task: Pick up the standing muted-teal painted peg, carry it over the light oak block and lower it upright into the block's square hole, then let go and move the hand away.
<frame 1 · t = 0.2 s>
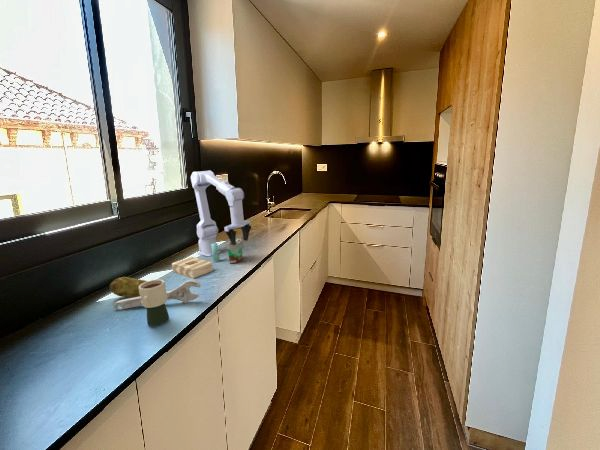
hand: (239, 242, 136), 10 cm above the worktop, tool pointing down, fingers open, 7 cm apart
potato: (133, 296, 108), on the worktop
wrench: (159, 305, 100), on the worktop
food container: (238, 261, 141), on the worktop
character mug: (158, 322, 89), on the worktop
hole block: (192, 271, 130), on the worktop
peg: (216, 261, 142), on the worktop
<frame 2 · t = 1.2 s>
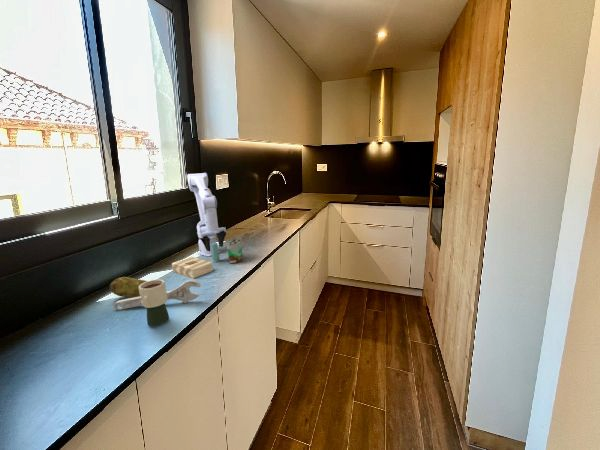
hand: (214, 248, 140), 7 cm above the worktop, tool pointing down, fingers open, 7 cm apart
nothing on the worktop moved.
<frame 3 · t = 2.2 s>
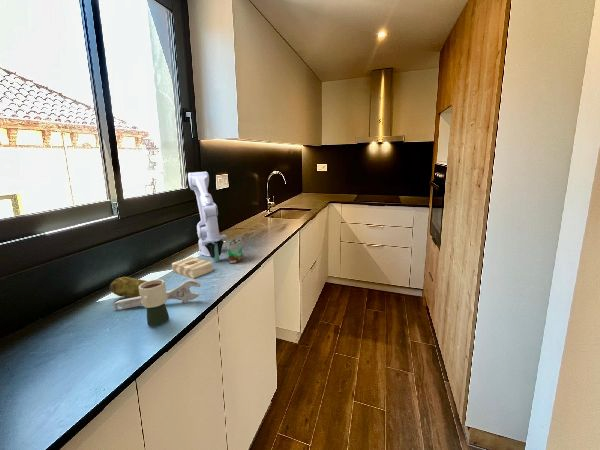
hand: (215, 256, 141), 3 cm above the worktop, tool pointing down, fingers closed on peg, 3 cm apart
peg: (216, 261, 142), on the worktop, touching gripper
everything else where it was.
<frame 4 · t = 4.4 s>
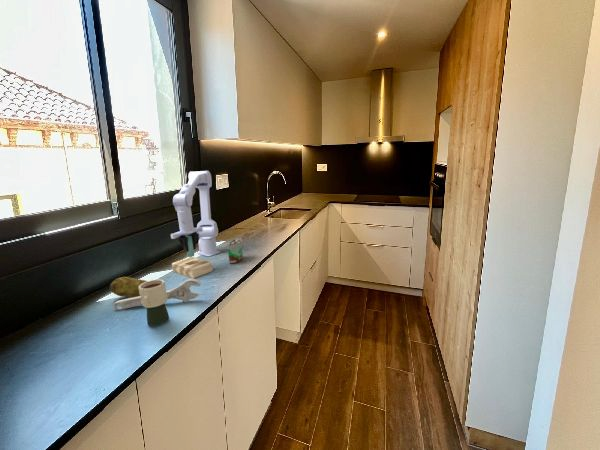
hand: (190, 250, 128), 10 cm above the worktop, tool pointing down, fingers closed on peg, 3 cm apart
peg: (190, 255, 129), point 7 cm above the worktop, touching gripper
everything else where it was.
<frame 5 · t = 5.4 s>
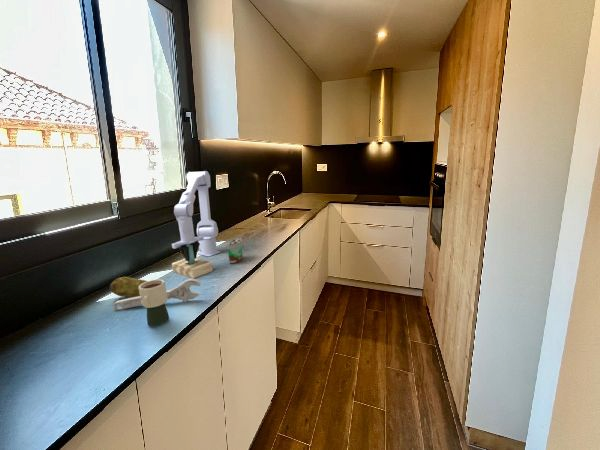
hand: (191, 259, 129), 6 cm above the worktop, tool pointing down, fingers closed on peg, 3 cm apart
peg: (191, 264, 129), point 3 cm above the worktop, touching gripper
everything else where it was.
when the fingers open (5 cm above the worktop, at t = 6.4 s): peg drops 2 cm, resting in hole block.
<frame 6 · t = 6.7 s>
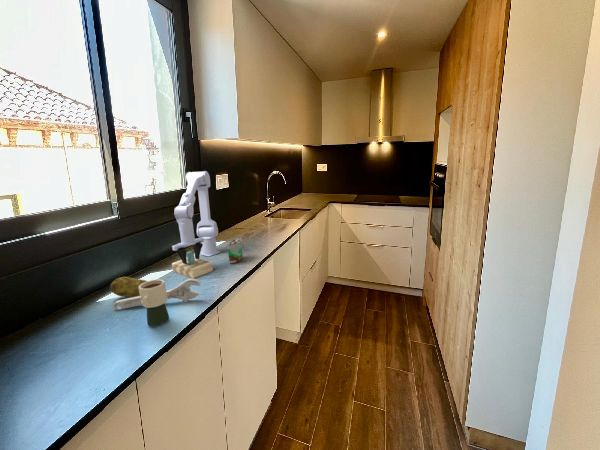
hand: (191, 261, 129), 5 cm above the worktop, tool pointing down, fingers open, 6 cm apart
peg: (192, 271, 130), resting in hole block
everything else where it was.
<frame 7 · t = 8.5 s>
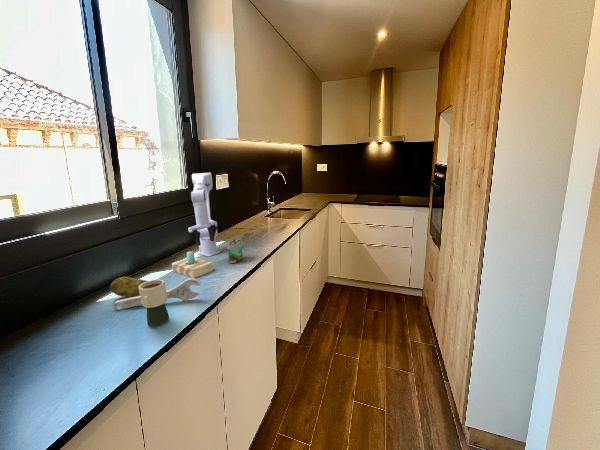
hand: (205, 243, 137), 10 cm above the worktop, tool pointing down, fingers open, 7 cm apart
nothing on the worktop moved.
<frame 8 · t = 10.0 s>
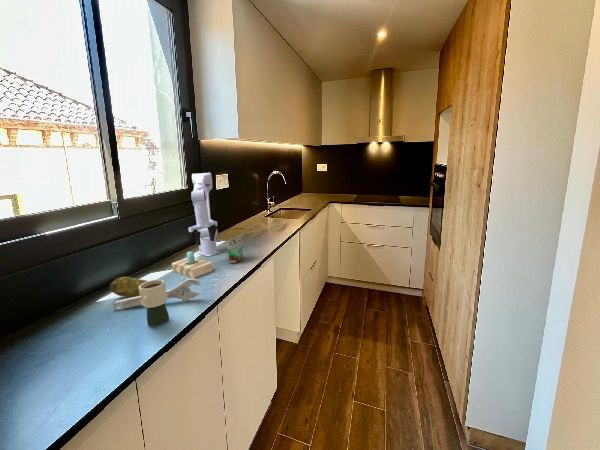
hand: (205, 243, 137), 10 cm above the worktop, tool pointing down, fingers open, 7 cm apart
nothing on the worktop moved.
at the end: peg 0.1 cm off-centre on the hole block, point 0.0 cm above the hole block's base; peg tilted 0°; the gripper is holding nothing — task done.
